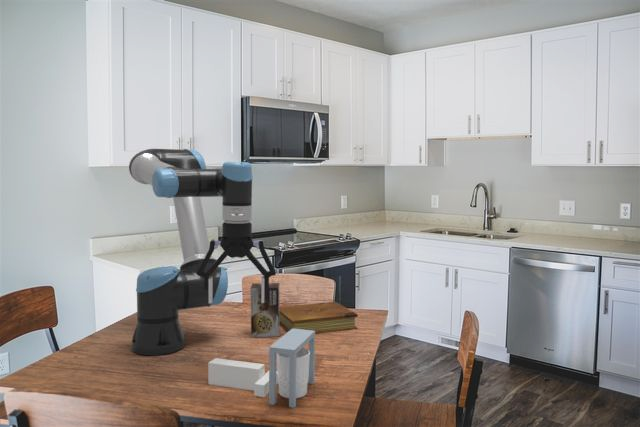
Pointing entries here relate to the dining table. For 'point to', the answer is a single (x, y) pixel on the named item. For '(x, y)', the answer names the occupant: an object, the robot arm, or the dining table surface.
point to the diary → (317, 317)
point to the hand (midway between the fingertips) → (236, 302)
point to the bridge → (291, 360)
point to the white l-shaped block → (239, 375)
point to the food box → (265, 311)
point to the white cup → (301, 373)
